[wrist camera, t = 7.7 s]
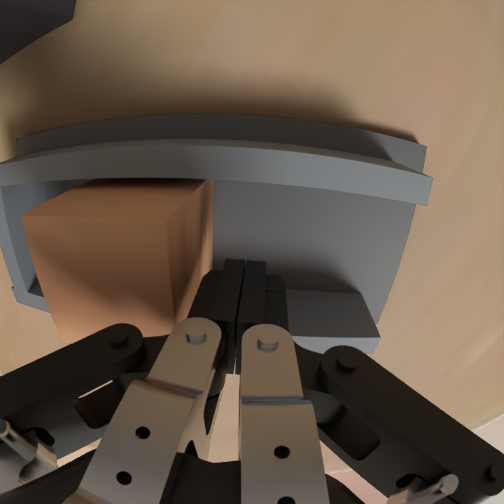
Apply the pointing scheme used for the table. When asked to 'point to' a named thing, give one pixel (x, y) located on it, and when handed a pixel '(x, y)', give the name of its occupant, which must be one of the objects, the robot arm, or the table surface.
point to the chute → (249, 204)
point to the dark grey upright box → (30, 22)
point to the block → (122, 252)
